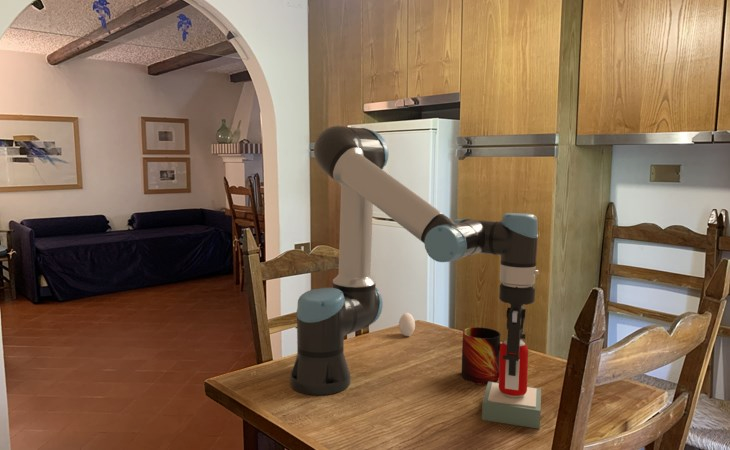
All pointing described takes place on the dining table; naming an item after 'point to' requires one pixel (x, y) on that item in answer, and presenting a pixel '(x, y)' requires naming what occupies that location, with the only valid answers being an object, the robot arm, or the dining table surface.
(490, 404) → the base
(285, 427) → the dining table surface
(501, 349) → the beverage can
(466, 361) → the mug
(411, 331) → the egg
